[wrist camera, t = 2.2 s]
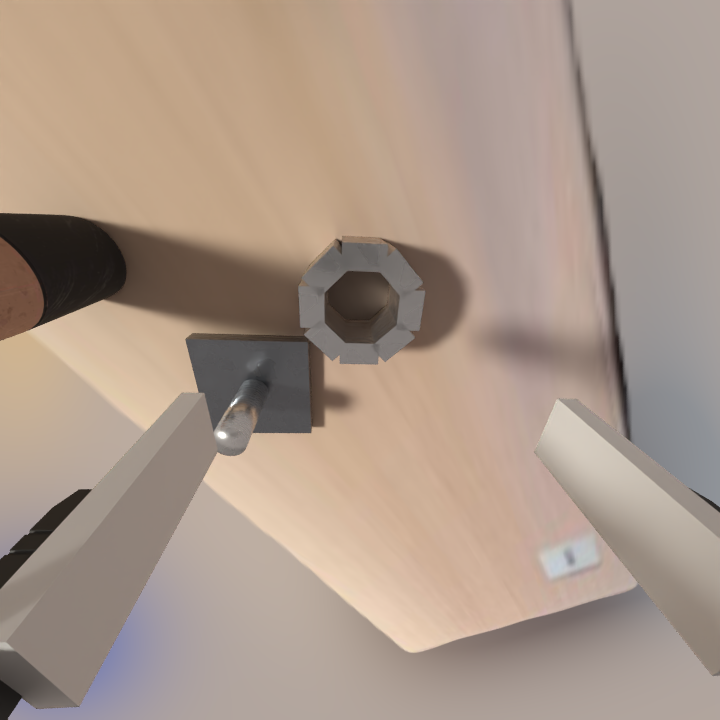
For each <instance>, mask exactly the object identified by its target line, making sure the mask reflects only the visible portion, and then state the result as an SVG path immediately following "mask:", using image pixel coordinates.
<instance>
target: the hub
mask: <svg viewBox="0 0 720 720" xmlns="http://www.w3.org/2000/svg"><path fill="white" fill-rule="evenodd" d="M347 271H364V272H380V273H381V274H382V275H383V276H384V278H385V279H386V280H387V281H388V282H389V290H388V300H387V305H386V306H385V307H384V308H383V309H381V310H380V311H379V312H378V313H377V314H376V315H375V316H373V317H372V318H371V319H370V320H345V319H344V318H343V317H342V316H341V315H340V314H339V313H338V312H337V311H336V310H335V309H334V308H333V307H332V306H331V305H330V304H329V303H328V289H329V288H330V287H331V286H332V285H333V284H334V283H335V282H336V281H337V280H338V279H339V278H340V277H342V276H343V275H344V274H345V273H346V272H347ZM422 284H423V281H422V280H421V279H420V278H419V276H418V275H417V274H416V273H415V271H414V270H413V269H412V268H411V266H410V265H409V264H408V262H407V261H406V260H405V259H404V257H403V256H402V255H401V254H400V252H399V251H398V250H397V249H396V248H395V247H393V246H392V245H391V244H389V243H388V242H384V241H383V240H382V239H380V238H372V237H352V236H342V246H341V245H340V243H339V242H338V241H337V240H336V239H335V240H334V241H333V242H332V243H331V244H330V245H329V246H328V247H327V248H326V249H325V250H324V251H323V252H322V253H321V254H320V255H319V256H318V257H317V258H316V259H315V260H314V261H313V262H312V263H311V264H310V265H309V267H308V268H307V270H306V271H305V273H304V274H303V276H302V281H301V282H300V284H299V286H298V292H299V313H300V328H306V330H305V333H304V335H305V336H306V337H307V338H308V339H309V340H310V341H311V342H312V343H313V344H314V345H316V346H317V347H318V348H319V349H320V350H321V351H322V352H323V353H324V354H325V355H327V356H328V357H329V358H330V359H331V360H332V361H333V360H334V359H335V358H336V357H338V356H339V355H340V364H378V356H380V357H381V358H382V359H383V360H384V361H385V362H386V361H387V360H388V359H389V358H391V357H392V356H393V355H394V354H396V353H397V352H398V351H399V350H401V349H402V348H403V347H404V346H406V345H407V344H408V343H409V342H411V341H412V340H413V339H414V338H415V336H414V335H413V333H412V331H419V330H420V324H421V317H422V311H423V305H424V298H425V292H426V291H425V290H424V289H423V288H422V287H421V286H420V285H422Z"/></svg>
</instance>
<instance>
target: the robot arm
mask: <svg viewBox="0 0 720 720" xmlns="http://www.w3.org/2000/svg"><path fill="white" fill-rule="evenodd" d="M217 452H218V449H217V445H216V441H215V436H214V432H213V428H212V424H211V419H210V415H209V411H208V406H207V402H206V398H205V393H181V394H180V395H179V396H178V398H177V399H176V400H175V401H174V402H173V403H172V404H171V405H170V406H169V407H168V408H167V409H166V410H165V412H164V413H163V414H162V415H161V416H160V417H159V418H158V419H157V420H156V421H155V422H154V423H153V425H152V426H151V427H150V428H149V429H148V430H147V431H146V432H145V433H144V434H143V435H142V436H141V438H140V439H139V440H138V441H137V442H136V443H135V444H134V445H133V446H132V447H131V448H130V450H129V451H128V452H127V453H126V454H125V455H124V456H123V457H122V458H121V459H120V460H119V461H118V462H117V463H116V465H115V466H114V467H113V468H112V469H111V470H110V471H109V472H108V473H107V474H106V475H105V476H104V478H103V479H102V480H101V481H100V482H99V483H98V484H97V485H96V486H95V487H94V488H93V489H90V490H89V489H81V490H78V491H76V492H75V493H74V494H72V495H70V496H69V497H68V498H66V499H65V500H63V501H62V502H60V503H59V504H57V505H56V506H54V507H53V508H52V509H51V510H50V511H49V512H48V513H47V514H46V515H45V516H44V517H43V518H42V519H41V520H40V521H39V522H38V523H37V524H36V525H35V526H34V527H33V528H32V529H31V530H30V533H29V534H28V535H24V536H23V537H22V538H21V539H20V541H18V543H16V544H15V546H13V547H12V549H10V553H9V554H8V555H4V556H3V558H1V559H0V720H8V717H9V716H10V714H11V713H12V711H13V710H14V708H15V707H16V705H17V704H18V702H19V701H20V699H21V698H23V699H24V700H25V701H26V702H28V703H29V704H31V705H32V706H33V707H35V708H36V709H44V708H63V707H79V706H80V704H81V703H82V701H83V698H84V697H85V695H86V693H87V692H88V690H89V688H90V686H91V684H92V682H93V680H94V679H95V677H96V675H97V673H98V671H99V669H100V667H101V666H102V664H103V662H104V660H105V658H106V656H107V655H108V653H109V651H110V649H111V647H112V645H113V644H114V642H115V640H116V638H117V636H118V634H119V633H120V631H121V629H122V627H123V625H124V623H125V622H126V620H127V618H128V616H129V614H130V612H131V610H132V609H133V607H134V605H135V603H136V601H137V599H138V598H139V596H140V594H141V592H142V590H143V588H144V586H145V585H146V583H147V581H148V579H149V577H150V575H151V574H152V572H153V570H154V568H155V566H156V564H157V563H158V561H159V559H160V557H161V555H162V553H163V551H164V549H165V548H166V546H167V544H168V542H169V540H170V538H171V537H172V535H173V533H174V531H175V529H176V528H177V525H178V524H179V522H180V520H181V518H182V516H183V515H184V513H185V511H186V509H187V507H188V505H189V503H190V502H191V500H192V498H193V496H194V494H195V492H196V491H197V489H198V487H199V485H200V483H201V481H202V480H203V478H204V476H205V474H206V472H207V470H208V469H209V467H210V465H211V463H212V461H213V459H214V457H215V456H216V454H217ZM534 453H535V454H536V455H537V456H538V458H539V459H540V460H541V462H542V463H543V464H544V465H545V467H546V468H547V469H548V470H549V472H550V473H551V474H552V475H553V477H554V478H555V479H556V480H557V482H558V483H559V484H560V485H561V487H562V488H563V489H564V490H565V492H566V493H567V494H568V495H569V497H570V498H571V499H572V500H573V502H574V503H575V504H576V505H577V507H578V508H579V509H580V510H581V512H582V513H583V514H584V515H585V517H586V518H587V519H588V520H589V522H590V523H591V524H592V526H593V527H594V528H595V529H596V531H597V532H598V533H599V534H600V536H601V537H602V538H603V539H604V541H605V542H606V543H607V544H608V546H609V547H610V548H611V549H612V551H613V552H614V553H615V554H616V556H617V557H618V558H619V559H620V561H621V562H622V563H623V564H624V566H625V567H626V568H627V569H628V571H629V572H630V573H631V574H632V576H633V577H634V578H635V579H636V581H637V582H638V583H639V584H640V586H641V587H642V588H643V589H644V591H645V592H646V593H647V595H648V596H649V597H650V598H651V600H652V601H653V602H654V603H655V604H656V606H657V607H658V608H659V610H660V611H661V612H662V613H663V615H664V616H665V617H666V618H667V620H668V621H669V622H670V623H671V625H672V626H673V627H674V628H675V630H676V631H677V632H678V633H679V635H680V636H681V637H682V638H683V640H684V641H685V642H686V643H687V645H688V646H689V647H690V648H691V650H692V651H693V652H694V654H695V655H696V656H697V657H698V659H699V660H700V661H701V662H702V664H703V665H704V666H705V667H706V669H707V670H708V671H709V672H710V674H711V675H712V676H716V675H720V507H718V506H717V505H716V504H714V503H713V502H712V501H710V500H709V499H707V498H705V497H703V496H702V495H700V494H698V493H697V492H695V491H693V490H691V489H690V488H688V487H687V486H685V485H684V484H683V483H682V482H680V481H679V480H678V479H676V478H675V477H674V476H673V475H672V474H670V473H669V472H667V470H665V469H664V468H663V467H661V466H660V465H659V464H658V463H656V462H655V461H654V460H653V459H651V458H650V457H649V456H647V455H646V454H645V453H644V452H643V451H641V450H640V449H639V448H637V447H636V446H635V445H634V444H633V443H631V442H630V441H629V440H628V439H626V438H625V437H624V436H622V435H621V434H620V433H619V432H617V431H616V430H615V429H614V428H612V427H611V426H610V425H609V424H607V423H606V422H605V421H604V420H602V419H601V418H600V417H599V416H597V415H596V414H595V413H593V412H592V411H591V410H590V409H588V408H587V407H586V406H585V405H583V404H582V403H581V402H580V401H578V400H577V399H557V401H556V403H555V405H554V407H553V410H552V412H551V414H550V417H549V419H548V421H547V424H546V426H545V428H544V431H543V433H542V435H541V438H540V440H539V442H538V445H537V447H536V449H535V451H534Z"/></svg>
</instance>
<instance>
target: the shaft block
mask: <svg viewBox="0 0 720 720" xmlns="http://www.w3.org/2000/svg"><path fill="white" fill-rule="evenodd" d="M186 343H187V347H188V351H189V355H190V359H191V363H192V367H193V371H194V375H195V379H196V383H197V387H198V391H199V393H205V398H206V402H207V406H208V411H209V415H210V419H211V424H212V428H213V432H214V436H215V441H216V445H217V449H218V453H220V454H223V455H227V456H235V455H239V454H241V453H242V452H244V450H245V449H246V447H247V444H248V442H249V440H250V437H251V435H252V433H311V431H312V399H311V370H310V340H309V339H308V338H307V337H306V336H271V335H234V334H196V333H192V334H191V335H190V336H189V337H187V338H186Z"/></svg>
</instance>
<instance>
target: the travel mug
mask: <svg viewBox="0 0 720 720" xmlns="http://www.w3.org/2000/svg"><path fill="white" fill-rule="evenodd" d="M125 279H126V265H125V261H124V258H123V256H122V254H121V251H120V250H119V248H118V246H117V245H116V244H115V242H114V241H113V240H112V239H111V238H110V237H109V236H108V235H107V234H106V233H105V232H104V231H103V230H101V229H100V228H99V227H97V226H96V225H94V224H92V223H90V222H88V221H86V220H83V219H81V218H77V217H74V216H66V215H46V214H11V213H0V341H1V340H4V339H6V338H9V337H12V336H15V335H17V334H20V333H23V332H25V331H28V330H30V329H33V328H35V327H38V326H40V325H43V324H45V323H47V322H50V321H52V320H55V319H57V318H59V317H62V316H64V315H67V314H69V313H72V312H74V311H76V310H79V309H81V308H84V307H86V306H89V305H91V304H93V303H96V302H98V301H101V300H103V299H105V298H107V297H110V296H112V295H114V294H115V293H117V292H118V291H119V290H120V289H121V288H122V286H123V285H124V282H125Z"/></svg>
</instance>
